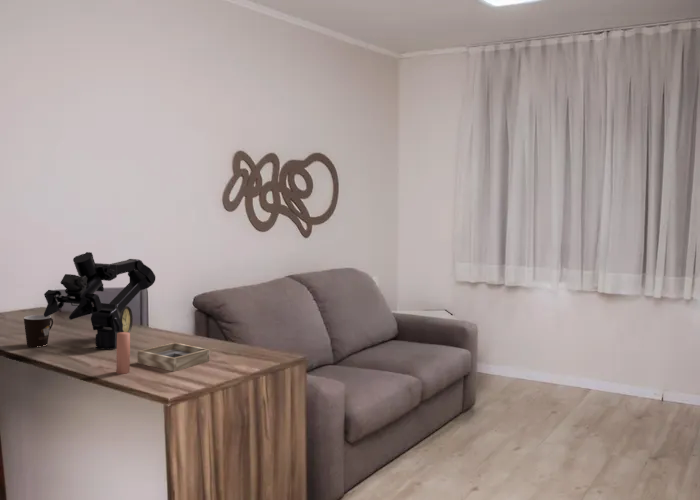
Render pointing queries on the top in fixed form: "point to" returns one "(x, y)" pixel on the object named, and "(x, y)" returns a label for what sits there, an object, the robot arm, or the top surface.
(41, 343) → the coffee mug
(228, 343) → the top surface
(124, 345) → the peg
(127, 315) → the alarm clock
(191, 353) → the box
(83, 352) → the top surface
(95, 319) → the robot arm
